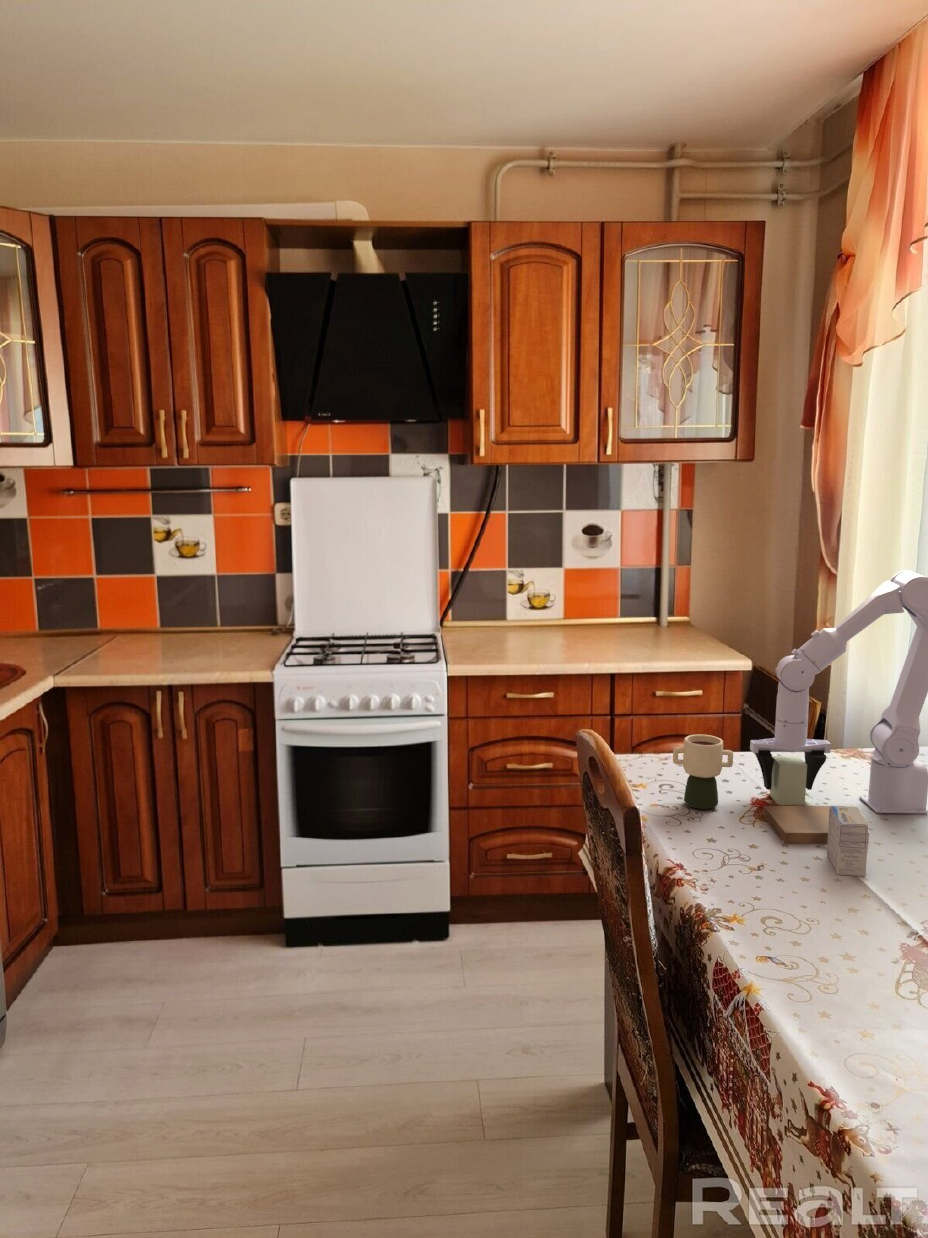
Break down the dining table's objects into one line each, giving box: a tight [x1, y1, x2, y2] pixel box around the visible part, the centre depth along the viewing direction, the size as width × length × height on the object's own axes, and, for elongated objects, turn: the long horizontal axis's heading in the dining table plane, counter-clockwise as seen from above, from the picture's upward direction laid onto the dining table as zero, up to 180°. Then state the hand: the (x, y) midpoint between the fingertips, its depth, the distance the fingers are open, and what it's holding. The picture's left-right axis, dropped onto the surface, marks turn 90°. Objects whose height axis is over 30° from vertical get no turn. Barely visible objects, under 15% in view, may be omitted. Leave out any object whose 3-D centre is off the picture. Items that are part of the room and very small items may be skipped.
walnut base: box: [762, 805, 870, 845], centre depth 156 cm, size 14×12×2 cm
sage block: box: [769, 755, 807, 806], centre depth 169 cm, size 5×5×8 cm
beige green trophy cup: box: [672, 733, 734, 810], centre depth 166 cm, size 11×7×13 cm, turn 78°
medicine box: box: [826, 805, 869, 877], centre depth 141 cm, size 8×4×9 cm, turn 168°
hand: (787, 788), depth 169 cm, fingers open, 7 cm apart
